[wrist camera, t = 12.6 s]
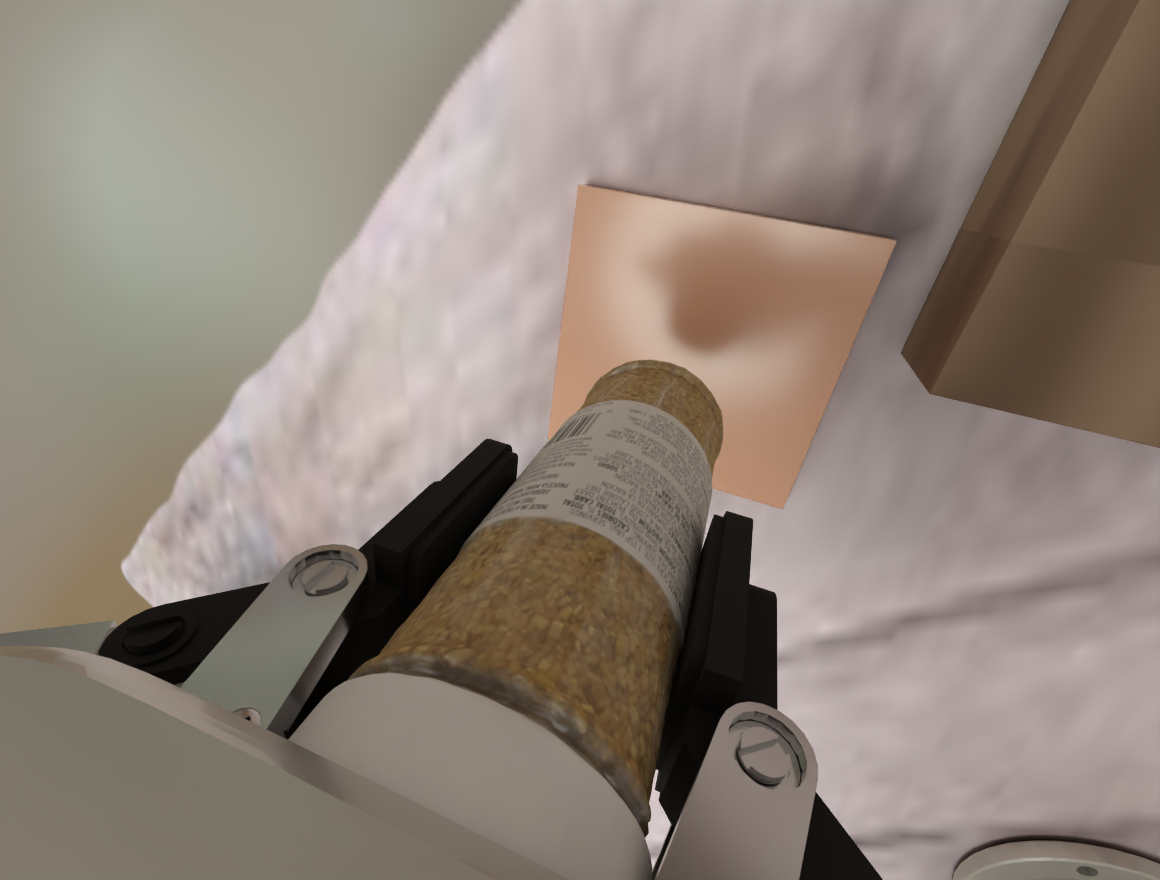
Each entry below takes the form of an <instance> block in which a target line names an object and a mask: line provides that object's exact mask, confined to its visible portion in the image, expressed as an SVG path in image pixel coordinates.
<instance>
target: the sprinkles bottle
mask: <svg viewBox="0 0 1160 880" xmlns="http://www.w3.org/2000/svg"><path fill="white" fill-rule="evenodd" d="M722 442H723V417H722V411H721V409H720V407H719V405H718V404H717V402H716V400H715V398H714V396H713V394H712V393H711V391H710V390H709V389H708V388H707V386H706V385H705V384H704V383H703V382H702V381H701V380H700V379H699V378H698V377H697V376H695V375H694V374H692V373H691V372H689V371H688V370H687V369H686V368H684V367H680V366H678V365H675V364H672V363H670V362H664V361H658V360H651V359H650V360H636V361H630V362H627V363H624V364H622V365H621V366H618V367H615V368H613V369H612V370H610V371H609V372H608V373H607V374H605V375H603V376H602V377H600V378H599V380H598V381H596V383H595V384H594V386H593V387H592V389H591V390H590V391H589V393H588V394H587V396H586V399H585V402H584V404H583V405H582V407H581V408H580V409H579V410H578V411H577V412H576V413H575V414H573V415H572V416H571V417H569V418H568V419H567V420H566V421H565V422H564V423H563V424H562V426H561V427H560V428H559V429H558V431H557V432H556V433H555V434H554V436H553V437H552V438H551V439H550V440H549V441H548V443H547V444H546V445H545V446H544V447H543V448H542V449H541V451H540V452H539V453H538V454H537V455H536V457H535V458H534V459H533V460H532V461H531V463H530V464H529V465H528V466H527V468H526V469H525V470H524V471H523V472H522V474H521V475H520V476H519V477H518V478H517V480H516V481H515V482H514V483H513V484H512V486H511V487H510V488H509V489H508V490H507V492H506V493H505V494H504V495H503V496H502V498H501V499H500V500H499V501H498V503H497V504H496V505H495V506H494V507H493V509H492V510H491V511H490V512H489V513H488V515H487V516H486V517H485V518H484V520H483V521H482V522H481V523H480V524H479V526H478V527H477V528H476V529H475V531H474V532H473V533H472V534H471V535H470V537H469V538H468V539H467V540H466V542H465V543H464V544H463V546H462V548H461V549H460V551H459V553H458V555H457V557H456V558H455V560H454V561H453V562H452V564H451V565H450V566H449V567H448V568H447V569H446V571H445V572H444V573H443V574H442V575H441V576H440V578H439V579H438V580H437V581H436V583H435V584H434V585H433V587H432V588H431V590H430V591H429V593H428V594H427V595H426V597H425V598H424V599H423V600H422V602H421V603H420V605H419V606H418V607H417V608H416V609H415V610H414V611H413V612H412V614H411V615H410V616H409V617H408V619H407V620H406V621H405V622H404V623H403V624H402V625H401V626H400V627H399V628H398V629H397V630H396V632H395V633H394V635H393V636H392V637H391V639H390V640H389V642H388V643H387V644H386V646H385V647H384V648H383V649H382V651H381V652H380V654H379V655H378V656H377V657H374V658H372V659H370V660H369V661H367V662H365V663H364V664H363V665H361V666H360V667H359V668H358V669H357V670H356V671H355V672H354V673H353V674H352V675H351V676H350V677H349V679H348V681H345V682H343V683H342V684H340V685H338V686H337V687H335V688H334V689H333V690H331V691H330V692H329V693H328V694H327V695H326V696H325V697H324V698H323V699H322V700H321V701H320V703H319V704H318V705H317V706H316V707H315V708H314V710H313V711H312V712H311V713H310V714H309V716H308V717H307V718H306V719H305V720H304V721H303V723H302V724H301V725H300V726H299V727H298V728H297V730H296V731H295V732H294V733H293V734H292V736H291V737H290V738H289V739H288V740H289V741H291V742H293V743H295V744H297V745H299V746H302V747H304V748H306V749H308V750H310V751H312V752H314V753H316V754H318V755H320V756H322V757H324V758H326V759H328V760H330V761H332V762H334V763H336V764H338V765H340V766H342V767H344V768H346V769H348V770H350V771H352V772H354V773H356V774H358V775H360V776H362V777H365V778H367V779H369V780H371V781H373V782H375V783H377V784H379V785H381V786H383V787H385V788H387V789H389V790H391V791H393V792H395V793H397V794H399V795H401V796H403V797H405V798H407V799H409V800H411V801H413V802H415V803H417V804H419V805H421V806H423V807H425V808H427V809H429V810H431V811H433V812H435V813H437V814H439V815H441V816H443V817H445V818H447V819H449V820H451V821H453V822H455V823H457V824H459V825H461V826H463V827H465V828H467V829H469V830H471V831H473V832H475V833H477V834H479V835H481V836H483V837H485V838H487V839H489V840H491V841H493V842H495V843H497V844H499V845H501V846H503V847H505V848H507V849H509V850H511V851H513V852H515V853H517V854H519V855H521V856H523V857H525V858H527V859H529V860H531V861H533V862H535V863H537V864H539V865H541V866H543V867H545V868H547V869H549V870H551V871H553V872H555V873H557V874H559V875H561V876H563V877H565V878H567V879H569V880H651V878H652V864H651V857H650V853H649V850H648V847H647V844H646V840H645V837H646V836H647V835H648V833H649V830H648V822H649V821H650V818H651V810H650V805H649V800H650V796H651V790H652V784H653V778H654V774H655V770H656V762H657V759H658V755H659V748H660V744H661V739H662V731H663V727H664V723H665V721H664V716H665V711H666V709H667V707H668V704H669V698H670V691H671V688H672V682H673V679H674V676H675V672H676V668H677V663H678V656H679V655H680V653H681V652H682V649H683V646H684V642H685V636H686V631H687V626H688V621H689V615H690V610H691V605H692V599H693V594H694V589H695V583H696V577H697V572H698V567H699V561H700V555H701V551H702V545H703V540H704V534H705V528H706V522H707V517H708V512H709V506H710V501H711V495H712V476H713V469H714V465H715V461H716V460H717V458H718V455H719V453H720V451H721V446H722Z"/></svg>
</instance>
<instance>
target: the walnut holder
mask: <svg viewBox="0 0 1160 880" xmlns="http://www.w3.org/2000/svg"><path fill="white" fill-rule="evenodd" d="M901 354H902V355H903V357H904V358H905V360H906V361H907V363H908V364H909V365H910V367H911V368H912V370H913V371H914V372H915V374H916V375H917V377H918V378H919V379H920V381H921V382H922V384H923V385H924V387H925V388H926V389H927V391H928V392H929V394H933V395H937V396H941V397H946V398H950V399H954V400H958V401H963V402H967V403H971V404H975V405H980V406H984V407H988V408H992V409H997V410H1001V411H1005V412H1009V413H1014V414H1018V415H1022V416H1026V417H1031V418H1035V419H1039V420H1044V421H1048V422H1052V423H1056V424H1061V425H1065V426H1069V427H1073V428H1078V429H1082V430H1086V431H1090V432H1095V433H1099V434H1103V435H1107V436H1112V437H1116V438H1120V439H1124V440H1129V441H1133V442H1137V443H1141V444H1146V445H1150V446H1154V447H1158V448H1160V0H1070V2H1069V4H1068V6H1067V8H1066V10H1065V13H1064V15H1063V17H1062V19H1061V21H1060V23H1059V25H1058V27H1057V29H1056V31H1055V33H1054V35H1053V38H1052V40H1051V42H1050V44H1049V46H1048V48H1047V50H1046V52H1045V54H1044V56H1043V58H1042V60H1041V63H1040V65H1039V67H1038V69H1037V71H1036V73H1035V75H1034V77H1033V79H1032V81H1031V83H1030V85H1029V87H1028V90H1027V92H1026V94H1025V96H1024V98H1023V100H1022V102H1021V104H1020V106H1019V108H1018V110H1017V112H1016V115H1015V117H1014V119H1013V121H1012V123H1011V125H1010V127H1009V129H1008V131H1007V133H1006V135H1005V137H1004V140H1003V142H1002V144H1001V146H1000V148H999V150H998V152H997V154H996V156H995V158H994V160H993V162H992V165H991V167H990V169H989V171H988V173H987V175H986V177H985V179H984V181H983V183H982V185H981V187H980V189H979V192H978V194H977V196H976V198H975V200H974V202H973V204H972V206H971V208H970V210H969V212H968V214H967V217H966V219H965V221H964V223H963V225H962V227H961V229H960V231H959V233H958V235H957V237H956V239H955V242H954V244H953V246H952V248H951V250H950V252H949V254H948V256H947V258H946V260H945V262H944V264H943V266H942V269H941V271H940V273H939V275H938V277H937V279H936V281H935V283H934V285H933V287H932V289H931V291H930V294H929V296H928V298H927V300H926V302H925V304H924V306H923V308H922V310H921V312H920V314H919V316H918V319H917V321H916V323H915V325H914V327H913V329H912V331H911V333H910V335H909V337H908V339H907V341H906V343H905V346H904V348H903V350H902V352H901Z"/></svg>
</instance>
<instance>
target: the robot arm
mask: <svg viewBox="0 0 1160 880" xmlns="http://www.w3.org/2000/svg"><path fill="white" fill-rule="evenodd" d="M517 465H518V455H517V454H516V453H513V452H512V447H511V446H510V445H508V444H505V443H501V442H498V441H495V440H492V439H486V440H484V441H483V442H482V443H481V444H480V445H479V446H478V447H477V448H476V449H475V450H473V451H472V452H471V453H470V454H469V455H468V456H467V457H466V458H465V459H464V460H463V461H461V462H460V463H459V464H458V465H457V466H456V467H455V468H454V469H453V470H452V471H451V472H450V473H448V474H447V475H446V476H445V477H444V478H443V479H442V480H441V481H437V482H434V483H432V484H431V485H429V486H428V487H427V488H426V489H425V490H424V491H423V492H422V493H421V494H420V495H418V496H417V497H416V498H415V499H414V500H413V501H412V502H411V503H410V504H408V505H407V506H406V507H405V508H404V509H403V510H402V511H401V512H400V513H399V514H397V515H396V516H395V517H394V518H393V519H392V520H391V521H390V522H389V523H387V524H386V525H385V526H384V527H383V528H382V529H381V530H380V531H379V532H377V533H376V534H375V535H374V536H373V537H372V538H371V539H370V540H369V541H368V542H366V543H365V544H364V545H363V546H362V547H361V548H360V549H359V550H357V549H355V548H353V547H350V546H346V545H337V544H330V545H323V546H318V547H315V548H312V549H309V550H306V551H304V552H302V553H300V554H299V555H297V556H295V557H294V558H293V559H292V560H290V561H289V562H288V563H287V564H286V565H285V566H284V567H283V568H282V569H281V571H280V572H279V573H278V574H277V575H276V576H275V578H274V579H273V580H272V581H271V582H269V583H264V584H260V585H255V586H250V587H245V588H240V589H236V590H231V591H226V592H221V593H216V594H212V595H207V596H202V597H197V598H193V599H188V600H183V601H178V602H173V603H169V604H164V605H161V606H157V607H154V608H150V609H147V610H145V611H143V612H141V613H139V614H137V615H135V616H133V617H131V618H129V619H128V620H126V621H125V622H123V623H122V624H121V625H119V626H118V627H117V626H116V624H115V622H114V621H113V620H112V621H104V622H95V623H87V624H78V625H70V626H63V627H53V628H44V629H36V630H28V631H19V632H11V633H2V634H0V880H569V879H567V878H565V877H563V876H561V875H559V874H557V873H555V872H553V871H551V870H549V869H547V868H545V867H543V866H541V865H539V864H537V863H535V862H533V861H531V860H529V859H527V858H525V857H523V856H521V855H519V854H517V853H515V852H513V851H511V850H509V849H507V848H505V847H503V846H501V845H499V844H497V843H495V842H493V841H491V840H489V839H487V838H485V837H483V836H481V835H479V834H477V833H475V832H473V831H471V830H469V829H467V828H465V827H463V826H461V825H459V824H457V823H455V822H453V821H451V820H449V819H447V818H445V817H443V816H441V815H439V814H437V813H435V812H433V811H431V810H429V809H427V808H425V807H423V806H421V805H419V804H417V803H415V802H413V801H411V800H409V799H407V798H405V797H403V796H401V795H399V794H397V793H395V792H393V791H391V790H389V789H387V788H385V787H383V786H381V785H379V784H377V783H375V782H373V781H371V780H369V779H367V778H365V777H362V776H360V775H358V774H356V773H354V772H352V771H350V770H348V769H346V768H344V767H342V766H340V765H338V764H336V763H334V762H332V761H330V760H328V759H326V758H324V757H322V756H320V755H318V754H316V753H314V752H312V751H310V750H308V749H306V748H304V747H302V746H299V745H297V744H295V743H293V742H291V741H289V740H288V739H289V738H290V737H291V736H292V734H293V733H294V732H295V731H296V730H297V728H298V727H299V726H300V725H301V724H302V723H303V721H304V720H305V719H306V718H307V717H308V716H309V714H310V713H311V712H312V711H313V710H314V708H315V707H316V706H317V705H318V704H319V703H320V701H321V700H322V699H323V698H324V697H325V696H326V695H327V694H328V693H329V692H330V691H331V690H333V689H334V688H335V687H337V686H338V685H340V684H342V683H343V682H345V681H348V679H349V677H350V676H351V675H352V674H353V673H354V672H355V671H356V670H357V669H358V668H359V667H360V666H361V665H363V664H364V663H365V662H367V661H369V660H370V659H372V658H374V657H377V656H378V655H379V654H380V652H381V651H382V649H383V648H384V647H385V646H386V644H387V643H388V642H389V640H390V639H391V637H392V636H393V635H394V633H395V632H396V630H397V629H398V628H399V627H400V626H401V625H402V624H403V623H404V622H405V621H406V620H407V619H408V617H409V616H410V615H411V614H412V612H413V611H414V610H415V609H416V608H417V607H418V606H419V605H420V603H421V602H422V600H423V599H424V598H425V597H426V595H427V594H428V593H429V591H430V590H431V588H432V587H433V585H434V584H435V583H436V581H437V580H438V579H439V578H440V576H441V575H442V574H443V573H444V572H445V571H446V569H447V568H448V567H449V566H450V565H451V564H452V562H453V561H454V560H455V558H456V557H457V555H458V553H459V551H460V549H461V548H462V546H463V544H464V543H465V542H466V540H467V539H468V538H469V537H470V535H471V534H472V533H473V532H474V531H475V529H476V528H477V527H478V526H479V524H480V523H481V522H482V521H483V520H484V518H485V517H486V516H487V515H488V513H489V512H490V511H491V510H492V509H493V507H494V506H495V505H496V504H497V503H498V501H499V500H500V499H501V498H502V496H503V495H504V494H505V493H506V492H507V490H508V489H509V488H510V487H511V486H512V484H513V483H514V482H515V481H516V477H517ZM752 531H753V519H751V518H748V517H745V516H741V515H738V514H735V513H731V512H728V511H726V513H725V515H724V517H721V516H718V515H714V517H713V519H712V522H711V525H710V528H709V531H708V534H707V537H706V540H705V543H704V545H703V548H702V551H701V555H700V561H699V567H698V572H697V577H696V583H695V589H694V594H693V599H692V605H691V610H690V615H689V621H688V626H687V631H686V636H685V642H684V646H683V649H682V652H681V653H680V655H679V656H678V663H677V668H676V672H675V676H674V679H673V682H672V688H671V691H670V698H669V704H668V707H667V709H666V711H665V716H664V721H665V723H664V727H663V731H662V739H661V744H660V748H659V755H658V759H657V762H656V769H657V770H659V771H658V776H657V782H656V787H655V790H656V791H659V792H660V796H659V802H660V804H661V806H662V807H663V809H664V811H665V813H666V815H667V817H668V819H669V821H670V823H671V825H670V827H669V829H668V832H667V834H666V837H665V839H664V842H663V844H662V847H661V849H660V851H659V854H658V856H657V859H656V861H655V864H654V866H653V869H652V878H651V880H883V879H882V878H881V877H880V875H879V874H878V873H877V871H876V870H875V869H874V868H873V866H872V865H871V864H870V862H869V861H868V860H867V858H866V857H865V856H864V854H863V853H862V852H861V850H860V849H859V848H858V847H857V845H856V844H855V843H854V841H853V840H852V839H851V837H850V836H849V835H848V833H847V832H846V831H845V829H844V828H843V827H842V826H841V824H840V823H839V822H838V820H837V819H836V818H835V816H834V815H833V814H832V812H831V811H830V810H829V808H828V807H827V806H826V805H825V803H824V802H823V801H822V799H821V798H820V797H819V795H818V794H817V793H816V787H817V782H818V764H817V761H816V758H815V754H814V751H813V748H812V747H811V745H810V743H809V742H808V740H807V738H806V736H805V735H804V733H803V732H802V731H801V730H800V729H799V728H798V727H797V726H796V724H795V723H794V722H793V721H792V720H790V719H789V718H788V717H786V716H785V715H784V714H782V713H781V712H780V711H778V710H777V598H776V594H775V593H774V592H771V591H768V590H765V589H762V588H759V587H756V586H753V585H750V584H749V578H750V563H751V547H752ZM953 880H1160V864H1158V863H1156V862H1153V861H1151V860H1148V859H1146V858H1143V857H1140V856H1136V855H1133V854H1129V853H1126V852H1122V851H1119V850H1115V849H1111V848H1106V847H1100V846H1095V845H1090V844H1084V843H1075V842H1065V841H1021V842H1011V843H1005V844H1001V845H996V846H992V847H988V848H986V849H983V850H981V851H979V852H976V853H974V854H972V855H971V856H970V857H968V858H967V859H965V860H964V861H963V862H961V864H960V865H959V866H958V868H957V869H956V871H955V872H954V876H953Z"/></svg>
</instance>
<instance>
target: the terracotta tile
mask: <svg viewBox="0 0 1160 880" xmlns="http://www.w3.org/2000/svg"><path fill="white" fill-rule="evenodd" d="M896 242H897V241H896V240H894V239H892V238H888V237H883V236H877V235H871V234H866V233H860V232H854V231H848V230H843V229H837V228H831V227H826V226H820V225H814V224H808V223H803V222H797V221H791V220H786V219H780V218H774V217H768V216H763V215H757V214H751V213H746V212H740V211H734V210H729V209H723V208H717V207H711V206H706V205H700V204H694V203H689V202H683V201H677V200H671V199H666V198H660V197H654V196H649V195H643V194H637V193H631V192H626V191H620V190H614V189H609V188H603V187H597V186H592V185H578V193H577V201H576V209H575V218H574V226H573V234H572V242H571V251H570V259H569V267H568V276H567V284H566V292H565V301H564V309H563V317H562V326H561V334H560V342H559V350H558V359H557V367H556V375H555V384H554V392H553V400H552V409H551V417H550V425H549V434H548V439H549V440H550V439H551V438H552V437H553V436H554V434H555V433H556V432H557V431H558V429H559V428H560V427H561V426H562V424H563V423H564V422H565V421H566V420H567V419H568V418H569V417H571V416H572V415H573V414H575V413H576V412H577V411H578V410H579V409H580V408H581V407H582V405H583V404H584V402H585V399H586V396H587V394H588V393H589V391H590V390H591V389H592V387H593V386H594V384H595V383H596V381H598V380H599V378H600V377H602V376H603V375H605V374H607V373H608V372H609V371H610V370H612V369H613V368H615V367H618V366H621V365H622V364H624V363H627V362H630V361H636V360H650V359H651V360H658V361H664V362H670V363H672V364H675V365H678V366H680V367H684V368H686V369H687V370H688V371H689V372H691V373H692V374H694V375H695V376H697V377H698V378H699V379H700V380H701V381H702V382H703V383H704V384H705V385H706V386H707V388H708V389H709V390H710V391H711V393H712V394H713V396H714V398H715V400H716V402H717V404H718V405H719V407H720V409H721V411H722V417H723V442H722V446H721V451H720V453H719V455H718V458H717V460H716V461H715V465H714V469H713V476H712V488H713V489H717V490H720V491H723V492H727V493H730V494H733V495H737V496H740V497H743V498H747V499H750V500H753V501H757V502H760V503H763V504H767V505H770V506H773V507H777V508H780V509H783V507H784V505H785V503H786V500H787V498H788V496H789V493H790V491H791V489H792V486H793V484H794V482H795V479H796V477H797V475H798V472H799V470H800V468H801V465H802V463H803V460H804V458H805V456H806V453H807V451H808V449H809V446H810V444H811V442H812V439H813V437H814V435H815V432H816V430H817V428H818V425H819V423H820V421H821V418H822V416H823V414H824V411H825V409H826V407H827V404H828V402H829V399H830V397H831V395H832V392H833V390H834V388H835V385H836V383H837V381H838V378H839V376H840V374H841V371H842V369H843V367H844V364H845V362H846V360H847V357H848V355H849V353H850V350H851V348H852V346H853V343H854V341H855V338H856V336H857V334H858V331H859V329H860V327H861V324H862V322H863V320H864V317H865V315H866V313H867V310H868V308H869V306H870V303H871V301H872V299H873V296H874V294H875V292H876V289H877V287H878V285H879V282H880V280H881V277H882V275H883V273H884V270H885V268H886V266H887V263H888V261H889V259H890V256H891V254H892V252H893V249H894V247H895V245H896Z"/></svg>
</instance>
